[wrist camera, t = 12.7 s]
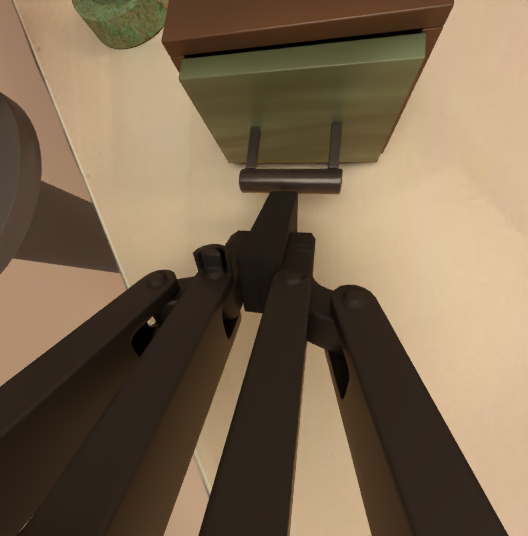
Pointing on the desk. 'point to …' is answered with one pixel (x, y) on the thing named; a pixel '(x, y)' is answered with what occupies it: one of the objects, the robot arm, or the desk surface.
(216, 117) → the drawer
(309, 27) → the cabinet
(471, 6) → the desk surface
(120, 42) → the decorative artifact
